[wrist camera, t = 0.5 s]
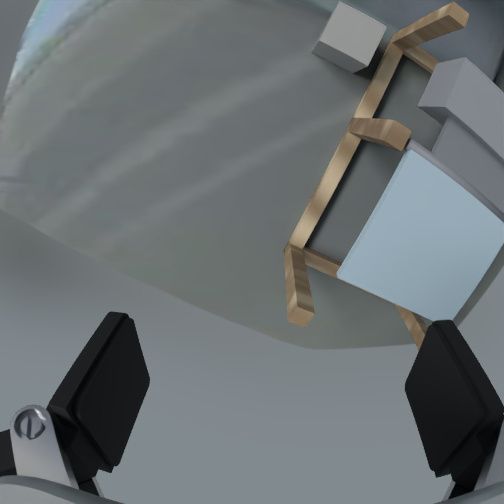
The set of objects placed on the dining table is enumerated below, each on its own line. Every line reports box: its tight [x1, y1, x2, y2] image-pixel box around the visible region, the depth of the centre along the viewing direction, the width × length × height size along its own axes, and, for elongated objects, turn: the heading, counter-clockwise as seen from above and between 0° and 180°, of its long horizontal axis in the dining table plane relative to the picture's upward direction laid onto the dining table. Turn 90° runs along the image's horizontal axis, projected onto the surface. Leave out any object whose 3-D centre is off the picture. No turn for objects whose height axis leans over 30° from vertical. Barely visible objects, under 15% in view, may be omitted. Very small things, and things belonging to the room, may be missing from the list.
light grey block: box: [311, 1, 387, 74], centre depth 25 cm, size 5×5×6 cm
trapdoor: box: [336, 57, 504, 321], centre depth 23 cm, size 21×15×5 cm
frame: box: [284, 2, 469, 350], centre depth 27 cm, size 30×19×14 cm, turn 156°
